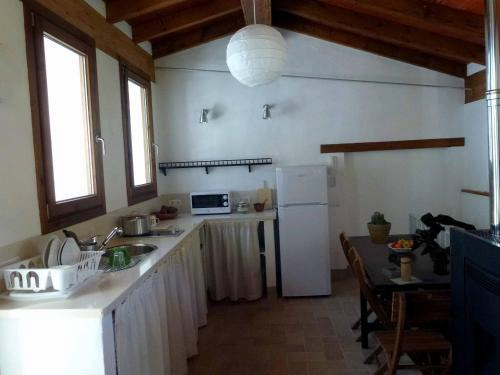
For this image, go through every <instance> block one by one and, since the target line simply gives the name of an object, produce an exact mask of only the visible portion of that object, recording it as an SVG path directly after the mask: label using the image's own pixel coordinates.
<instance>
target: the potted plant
mask: <svg viewBox="0 0 500 375" xmlns="http://www.w3.org/2000/svg"><path fill="white" fill-rule="evenodd" d="M370 219H371V221H369V222H367V223H366V226H367V230H368V234H369V236H370V239H371V243H373V244H376V245H383V244H387V243H388V240H389V238H390V237H389V236H390V233H391V229H392V223H391V222H390V221H387V219H386V218H385V214H384V213H381V212H379V211H375V212H374V213H373V214H372V215H371V216H370Z"/></svg>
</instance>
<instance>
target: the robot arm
mask: <svg viewBox="0 0 500 375" xmlns="http://www.w3.org/2000/svg"><path fill="white" fill-rule="evenodd" d="M419 220H420V222H422V223H423V225H424V226H425V227H426V228H427V229H419V228H416V229H415V232H414V234H412V236H411V239H412V245H411V248H410V252H411V253H413V252H414V251H416V250H417V249H419V248H420V247H421V246H422V245H423V244H425V247H424V249H423V250H422V251H421V254H420V255H421V256H425V255H427V254H429V258H430V260H431V262H433V265H432V266H433V267H432V268H433V271H432V273H433V274H435V275H437V276H444V274H446V275H449V274H450V273H449V272H448V265H450V259H449V256H451V255H450V246H451V245H449V246H446V247H444V248H443V247H441V245H440V243H438V242H437V241H436V240H438V236H439V234H440V233H441V232H446V226H451V227H452V226H453V227H456V228H459V229H462V230H464V231H465V230H477V228H476V226H475V225H474V224H471V223H468V222H467V223H466V222H464V221H460V220H457V219H454V218H453V217H452V216H450V215H447V214H442V213H439V214H437V215H436V216H434V215H433V214H432V213H431V212H427V213H425V214H423V215H422V216H421V217H420V219H419ZM443 225H444V226H443Z"/></svg>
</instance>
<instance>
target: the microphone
mask: <svg viewBox="0 0 500 375" xmlns="http://www.w3.org/2000/svg"><path fill="white" fill-rule="evenodd" d="M387 258H388V259H387V260H388V262H390V263H393V264H394V265H395V266H397V267H400V268H401V261H399V260H398V257H397V255H396V254H394V253H393V254H392V253H391V254H388V257H387Z"/></svg>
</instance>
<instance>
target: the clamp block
mask: <svg viewBox="0 0 500 375" xmlns="http://www.w3.org/2000/svg"><path fill="white" fill-rule="evenodd" d="M381 269H382V270H381V274H382V275H384V276H386V277H387V278H389V279H397V278H402V277H401V267H398V266H397V265H395V266H388V267H386V266H385V267H382V268H381Z"/></svg>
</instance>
